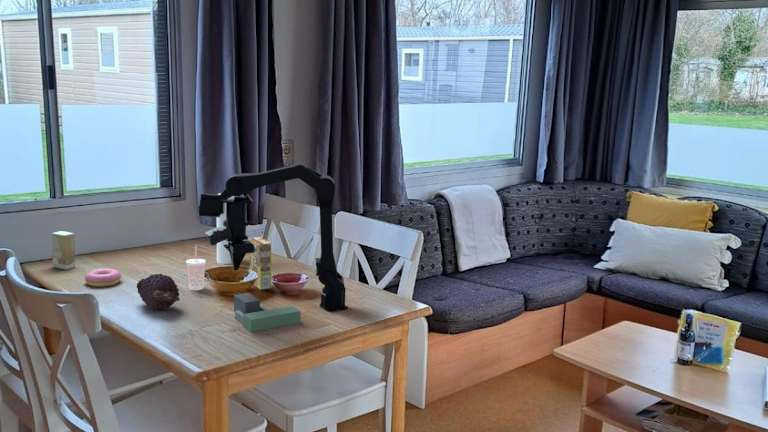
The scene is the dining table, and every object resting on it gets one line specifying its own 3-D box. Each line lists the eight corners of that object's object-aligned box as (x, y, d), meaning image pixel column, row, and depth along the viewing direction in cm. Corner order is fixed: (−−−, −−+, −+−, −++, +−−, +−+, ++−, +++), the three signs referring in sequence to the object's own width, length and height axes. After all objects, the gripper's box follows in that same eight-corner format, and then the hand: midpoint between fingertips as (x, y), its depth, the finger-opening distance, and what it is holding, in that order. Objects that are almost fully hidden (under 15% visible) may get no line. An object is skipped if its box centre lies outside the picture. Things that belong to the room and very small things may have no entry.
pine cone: (125, 304, 198) (124, 271, 196) (155, 297, 205) (154, 265, 203) (162, 318, 187) (161, 284, 185) (191, 310, 195) (191, 277, 193)
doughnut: (77, 284, 215) (76, 271, 214) (105, 276, 224) (105, 264, 224) (101, 290, 210) (100, 277, 209) (129, 282, 219) (128, 269, 219)
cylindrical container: (240, 261, 250) (240, 194, 245) (226, 265, 244) (226, 197, 239) (226, 258, 253) (226, 192, 249) (212, 261, 247) (212, 194, 243)
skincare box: (52, 267, 231) (50, 232, 229) (62, 264, 235) (60, 230, 233) (66, 270, 229) (64, 235, 227) (76, 267, 233) (75, 232, 231)
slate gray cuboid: (248, 308, 199) (248, 292, 198) (259, 317, 192) (260, 300, 192) (233, 311, 196) (233, 294, 195) (245, 319, 190) (245, 302, 189)
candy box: (271, 288, 219) (272, 242, 216) (259, 290, 216) (259, 244, 213) (260, 281, 226) (261, 237, 223) (248, 283, 224) (249, 238, 221)
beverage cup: (209, 288, 216) (209, 246, 213) (193, 292, 212) (192, 248, 209) (199, 284, 220) (199, 242, 217) (182, 287, 216) (182, 245, 213)
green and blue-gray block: (281, 310, 198) (281, 298, 198) (300, 322, 189) (300, 310, 188) (233, 318, 190) (233, 306, 189) (250, 332, 180) (250, 319, 180)
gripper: (201, 212, 199) (200, 263, 202) (215, 225, 183) (215, 281, 186) (238, 211, 204) (237, 261, 207) (255, 224, 188) (254, 277, 191)
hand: (235, 269), depth 198 cm, fingers closed
